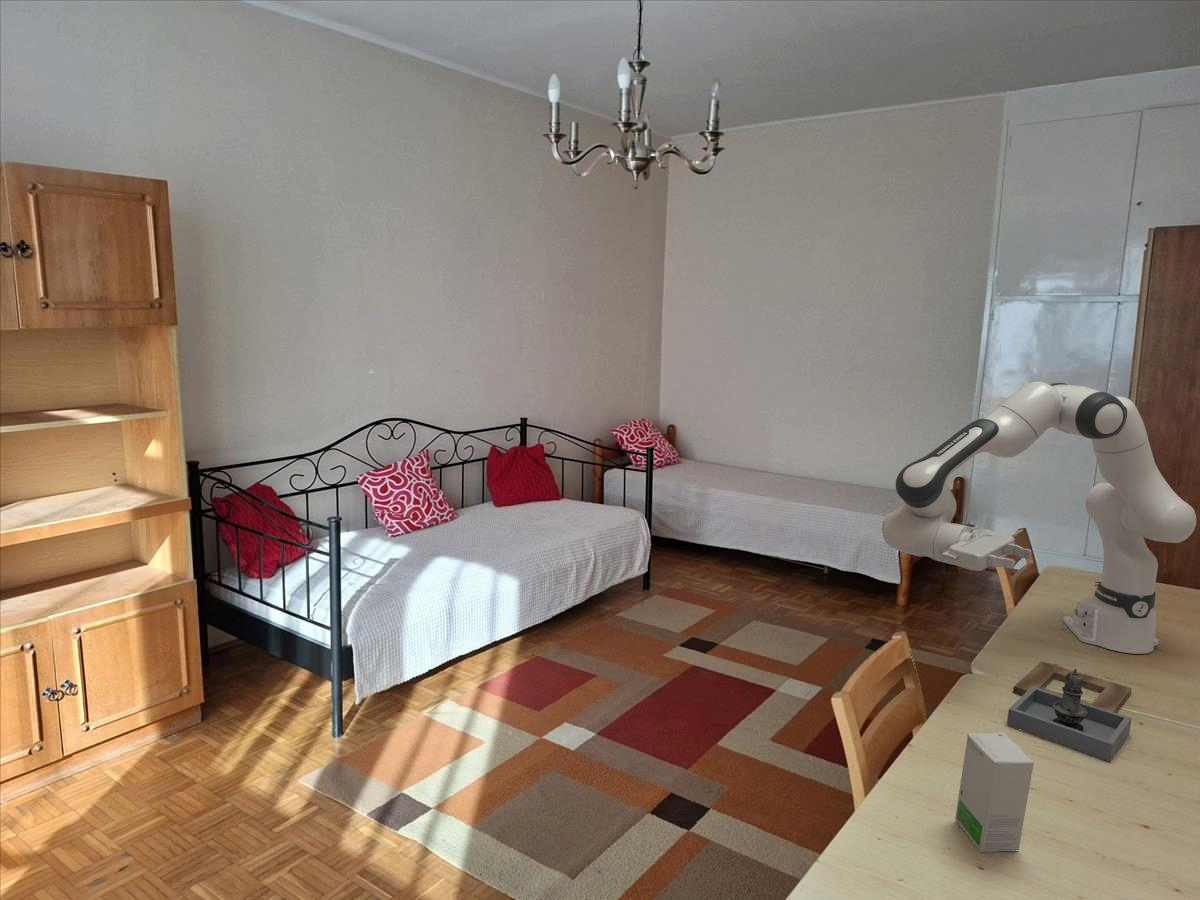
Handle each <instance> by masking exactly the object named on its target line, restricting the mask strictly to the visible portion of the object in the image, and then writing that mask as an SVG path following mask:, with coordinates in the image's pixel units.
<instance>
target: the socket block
mask: <svg viewBox="0 0 1200 900" xmlns="http://www.w3.org/2000/svg"><path fill="white" fill-rule="evenodd" d="M1069 672H1074V670H1072V669H1068V668H1065V667H1061V666H1059V665H1056V664H1052V663H1049V662H1046V661H1040V662H1038V663H1037V665H1036V666H1034V667H1033V668H1032V669H1031V670H1030V671H1029V672H1027V673H1026V674H1025V675H1024V676H1023V677H1022V678H1021V679H1020V680H1019V681H1018V682H1017V683H1016V684H1014V686H1013V688H1012V690H1013V691H1012V694H1016V695H1018V694H1019V696H1021V695H1022V696H1023V695H1024V694H1025V693H1026V692H1027V691H1028V690H1029V689H1030V688H1031V687H1032V686H1033V687H1036V688H1039V689H1043V690H1046V691H1049V692H1052V693H1055V694H1058V695H1061V696H1063V693H1061V692H1058V691H1055V690H1052V689H1049V688H1046V687H1047V686H1048V685H1049V684H1050V683H1051V682H1052V681H1053V680H1057V679H1058V680H1057V681H1060V680H1062V681H1061V682H1063V681H1065V680H1066V675H1067V673H1069ZM1077 673H1079V674H1080V675H1081V676H1082V677H1083V682H1082V688H1083V687H1084V688H1083V689H1086V688H1087V689H1086V690H1089V689H1090V691H1093V692H1095V693H1096V692H1097V693H1099V695H1098V696H1097V697H1096V698H1095V699H1094V701H1093V702H1090V701H1087V700H1083V699H1081V700H1080V702H1083V703H1086V704H1090V705H1093V706H1096V707H1099V708H1102V709H1105V710H1108V711H1112V712H1115V713H1118V712H1119V710H1120V709H1122V706H1123V705H1124V704H1125V702H1126V701H1127V700H1128V699H1129V698H1130V696H1131V694H1132V687H1129V686H1126V685H1122V684H1120V683H1116V682H1112V681H1109V680H1105V679H1102V678H1099V677H1096V676H1093V675H1089V674H1086V673H1082V672H1080V671H1077ZM1054 678H1055V679H1054ZM1022 696H1021V697H1022Z"/></svg>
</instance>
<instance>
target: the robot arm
mask: <svg viewBox="0 0 1200 900" xmlns="http://www.w3.org/2000/svg"><path fill="white" fill-rule="evenodd" d="M1050 428H1053V429H1055V430H1057V431H1060V432H1062V433H1065V434H1067V435H1068V434H1070V435H1074V436H1075V435H1076V436H1079V437H1084V438H1086V439H1091V443H1092V447H1093V450H1094V454H1095V458H1096V462H1097V465H1098V468H1099V472H1100V475H1101V476H1102V478H1103V479H1104V480H1105V482H1100V483H1097V484H1096V485H1094V486H1093V487H1092V488H1091V489H1090V490H1089V492H1088V493H1087V496H1086V499H1085V510H1086V512H1087V514H1088V515H1089V516H1090V518H1091V519H1092V520H1093V522H1094V524H1095V525H1096V528H1097V530H1098V532H1099V535H1100V538H1101V542H1102V549H1103V563H1102V571H1101V572H1102V573H1101V579H1100V580H1101V581H1094V583H1095V584H1094V585H1093V586H1094V587H1096V589H1095V591H1094V594H1092V595H1090V596H1088V597H1086V598H1083V599H1081V600H1079V601H1078V602H1077V603H1076V604H1075V609H1074V612H1073V613H1074V614H1070V615H1066V616H1063V618H1062V622H1063V623H1064V624H1065V625H1066V626H1067V627H1068V629H1069V630H1070V631H1071V632H1073V635H1075V636H1076V637H1077V638H1078V640H1079V641H1080V642H1082V643H1085V644H1089V645H1093V646H1098V647H1100V648H1101V647H1102V648H1104V649H1107V650H1110V651H1115V652H1119V653H1124V654H1125V653H1127V654H1134V655H1135V654H1136V655H1140V654H1143V655H1144V654H1149V653H1151V652H1153V651H1154V649H1155V647H1156V646H1159V639H1158V638H1156V624H1157V613H1156V611H1155V610H1154V608H1155V604H1156V601H1157V599H1156V597H1157V595H1156V592H1155V589H1156V582H1157V575H1158V567H1159V562H1158V559H1157V557H1156V556H1155V555H1154V554H1153V552H1152V551H1151V549H1149V548H1148V546H1147V543H1146V540H1145V539H1148V540H1152V541H1155V542H1163V543H1172V544H1178V543H1181V542H1184V541H1185V540H1187V539H1188V538H1189V537H1190V536H1192V534H1193V532H1194V531H1195V528H1196V525H1197V515H1196V511H1195V509H1194V508H1193V507H1192V506H1191V505H1190V504H1189V503H1188V502H1186V501H1184V500H1183V499H1182V498H1181V497H1180V496H1179V495H1178V494H1177V493H1176V492H1175V491H1174V490H1173V488H1172V487H1171V486H1170V485H1169V484H1168V482H1167V480H1166V479H1165V477H1164V476H1163V475H1162V473H1161V472H1160V470H1159V468H1158V466H1157V464H1156V462H1155V458H1154V454H1153V452H1152V448H1151V444H1150V441H1149V437H1148V433H1147V430H1146V425H1145V424H1144V421H1143V419H1142V415H1141V414H1140V412H1139V410H1138V408H1137V406H1136V404H1135V403H1134V402H1133V401H1132V400H1131V399H1130V398H1127V397H1125V396H1120V395H1119V396H1118V395H1112V394H1111V393H1109V392H1105V391H1100V390H1097V389H1094V388H1091V387H1088V386H1084V385H1075V384H1073V385H1072V384H1068V383H1065V382H1053V383H1047V382H1044V381H1032V382H1029V383H1028V384H1026V385H1024V386H1023V387H1021V388H1019V389H1018V390H1017V391H1015V392H1014V393H1013V394H1011V395H1010V396H1008V397H1007V398H1005V400H1004V401H1002V402H1001V403H1000V404H999V405H998V406H997V407H996V408H994V410H992V411H991V412H990V413H988V414H987V415H986V416H985V417H982V418H979V419H976V420H973V421H972V422H970V423H968V424H967V425H965V426H964V427H963V428H961V429H960V430H958V431H957V432H956V433H955V434H953V435H952V436H950V437H949V438H948V439H947V440H946V441H944V442H943V443H941V444H940V445H938V447H936V448H934V449H933V450H932V451H931V452H930V453H928V454H926V455H925V456H923V457H922V458H919V459H917V460H914V461H913V462H910V463H909V464H907V465H906V466H904V467H903V468H902V469H901V470H900V472H899V473H898V475H897V477H896V479H895V490H896V493H897V495H898V496H899V497H900V498H901V499H902V501H903V502H904V504H903V505H901V506H900V507H899V508H898V509H896V510H895V511H892V512H890V513H887V514H886V515H885V516H884V519H883V521H882V528H881V529H882V536H883V539H884V541H885V543H886V544H887V545H888V547H889V548H892V549H894V550H896V551H899V552H902V553H904V554H909V555H911V556H912V555H913V556H916V557H928V558H931V559H932V560H934V561H937V562H941V563H945V564H949V565H954V566H957V567H959V568H962V569H966V570H970V571H974V572H981V571H983V570H985V569H987V568H989V567H992V568H1006V569H1010V570H1011V569H1013V568H1014V567H1016V562H1017V561H1016V559H1015V558H1012V557H1008V556H1009V555H1011V556H1017V557H1019V558H1021V559H1025V560H1028V559H1030V558H1031V556H1032V550H1031V549H1029V548H1024V547H1022V546H1020V545H1018V544H1015V542H1016V538H1014V537H1013V536H1011V535H1009V534H1006V533H1004V532H1003V533H1002V532H999V531H995V530H992V529H987V528H980V527H979V525H978V524H976V523H975V524H974V523H965V524H961V523H960V524H959V523H952V521H953V519H954V517H955V515H956V513H957V509H958V508H957V507H958V505H957V500H956V498H955V496H954V494H953V492H952V491H951V488H950V487H949V485H948V483H947V482H948V479H949V477H950V475H952V473H954V472H955V471H956V470H957V469H959V468H960V467H962V466H963V465H964V464H966V462H969V461H970V460H971V459H972V458H973V457H974V456H977V455H978V454H981V453H988V454H990V455H992V456H994V457H998V458H1005V459H1006V458H1007V459H1008V458H1015V457H1017V456H1019V455H1020V454H1022V453H1024V452H1025V451H1026V450H1028V448H1030V447H1031V446H1032V445H1033V444H1034V443H1035V442H1036V441H1037V440H1038V439H1039V438H1041V436H1042V435H1044V433H1046V431H1048V429H1050Z"/></svg>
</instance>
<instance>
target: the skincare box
mask: <svg viewBox="0 0 1200 900" xmlns="http://www.w3.org/2000/svg"><path fill="white" fill-rule="evenodd" d="M965 744H966V745H965V750H964V751H965V752H964V755H963V756H964V759H963V763H962V764H963V765H962V769H961V770H962V771H961V778H960V785H959V791H958V798H957V803H956V804H957V805H956V812H955V816H954V817H955V822H956V821H957V822H956V823H957V824H958V823H959V824H958V826H960V828H961V827H962V828H961V829H962V830H963V832H964V831H965V832H964V833H965V834H966V836H967V837H968V836H969V837H968V838H969V839H970V841H971V840H972V841H973V842H974V843H975V844H974V843H973V842H972V841H971V842H972V843H973V844H974V846H975V845H976V846H977V847H978V848H977V847H976V846H975V847H976V848H977V850H978V849H979V850H980V851H981V852H987V853H999V852H998V851H1013V850H1015V851H1014V852H1017V851H1016V850H1019V851H1020V845H1021V839H1022V834H1023V826H1024V821H1025V816H1026V810H1027V803H1028V797H1029V793H1030V786H1031V780H1032V775H1033V769H1034V763H1035V762H1034V761H1033V760H1032V759H1031V758H1030V757H1029V756H1028V755H1027V754H1026V753H1025V752H1024V751H1023V750H1022V748H1021V747H1020V746H1019V745H1018V744H1017V743H1015V742H1014V741H1013V740H1012V739H1011V738H1010V737H1009V736H1008V735H1007V734H1006V733H1004V732H989V733H987V732H983V733H982V732H981V733H967V737H966V743H965ZM979 850H978V851H979ZM980 851H979V852H980ZM981 852H980V853H981Z"/></svg>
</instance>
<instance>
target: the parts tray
mask: <svg viewBox="0 0 1200 900" xmlns="http://www.w3.org/2000/svg"><path fill="white" fill-rule="evenodd" d="M1062 698H1063V696H1061V695H1058V694H1055V693H1052V692H1049V691H1046V690H1043V689H1039V688H1036V687H1033V686H1032V687H1031V688H1030V689H1029V690H1028V691H1027V692H1026V693H1025V694H1024V695H1023V696H1021V697H1020V698H1018V699H1017V700H1016V701H1015V702H1014V703H1013V704H1012V705H1011V706H1010V707H1009V708H1008V711H1007V712H1008V713H1007V719H1006V720H1007V721H1006V726H1007V725H1009V726H1008V727H1010V726H1012V727H1011V728H1013V727H1015V728H1014V729H1016V728H1017V729H1016V730H1019V729H1021V730H1023V731H1022V732H1024V731H1025V733H1027V732H1028V733H1027V734H1030V735H1033V736H1036V737H1038V738H1042V739H1044V740H1047V741H1050V742H1053V743H1056V744H1059V745H1060V746H1064V747H1067V748H1070V749H1073V750H1075V751H1078V752H1081V753H1084V754H1086V755H1089V756H1092V757H1095V758H1097V759H1100V760H1103V761H1106V762H1108V763H1109V762H1110V763H1111V761H1112V760H1113V758H1115V757H1114V756H1115V755H1116V754H1117V752H1118V751H1119V750H1120V749H1121V747H1122V745H1123V744H1124V743H1125V741H1126V740H1127V738H1128V737H1129V736H1130V733H1131V732H1130V731H1131V725H1132V719H1133V718H1132V717H1131V716H1127V715H1124V714H1121V713H1118V712H1117V713H1115V712H1112V711H1108V710H1105V709H1102V708H1099V707H1096V706H1093V705H1090V704H1086V703H1083V702H1080V705H1081V707H1083V708H1084V709H1085V710H1086V711H1087V715H1086V716H1085V718H1084V720H1083V721H1082V722H1080V723H1079V724H1081V725H1082V727H1083V731H1079V730H1076V729H1073V728H1070V727H1067V726H1064V725H1061V724H1058V723H1055V722H1053V720H1054V719H1056V718H1058V717H1057V716H1056V714H1055V710H1054V709H1055V708H1054V707H1053V704H1054V703H1055V702H1060V701H1062ZM1021 730H1020V731H1021Z"/></svg>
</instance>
